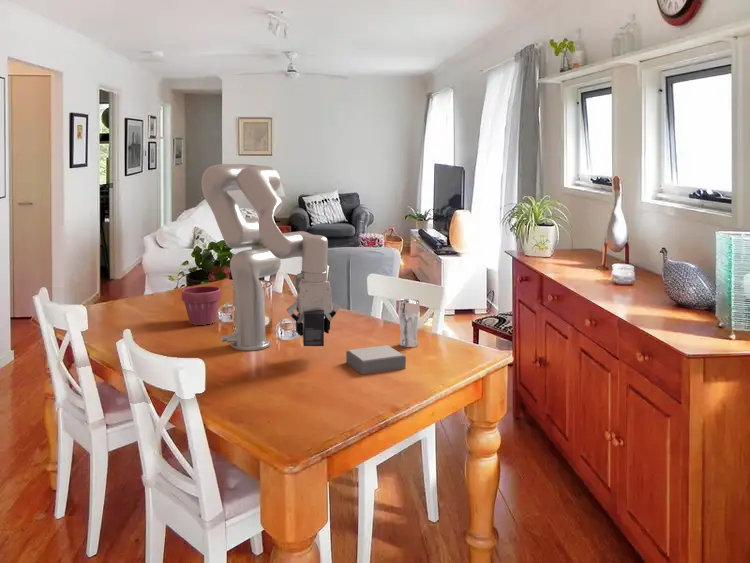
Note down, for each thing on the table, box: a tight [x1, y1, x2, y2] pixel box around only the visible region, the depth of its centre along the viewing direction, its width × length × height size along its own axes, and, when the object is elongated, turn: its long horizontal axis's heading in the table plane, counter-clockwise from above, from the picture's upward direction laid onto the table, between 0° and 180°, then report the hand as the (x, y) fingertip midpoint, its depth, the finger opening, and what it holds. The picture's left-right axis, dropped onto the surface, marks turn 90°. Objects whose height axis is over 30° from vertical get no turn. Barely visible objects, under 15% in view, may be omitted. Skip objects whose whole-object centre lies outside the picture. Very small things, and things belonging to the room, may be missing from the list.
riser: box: [345, 344, 407, 375], centre depth 199 cm, size 14×12×4 cm
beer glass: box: [398, 298, 421, 349], centre depth 219 cm, size 7×7×15 cm
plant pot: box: [181, 285, 222, 326], centre depth 245 cm, size 14×14×13 cm
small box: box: [302, 310, 325, 347], centre depth 201 cm, size 11×6×10 cm, turn 7°
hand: (313, 333), depth 201 cm, fingers closed on small box, 7 cm apart
